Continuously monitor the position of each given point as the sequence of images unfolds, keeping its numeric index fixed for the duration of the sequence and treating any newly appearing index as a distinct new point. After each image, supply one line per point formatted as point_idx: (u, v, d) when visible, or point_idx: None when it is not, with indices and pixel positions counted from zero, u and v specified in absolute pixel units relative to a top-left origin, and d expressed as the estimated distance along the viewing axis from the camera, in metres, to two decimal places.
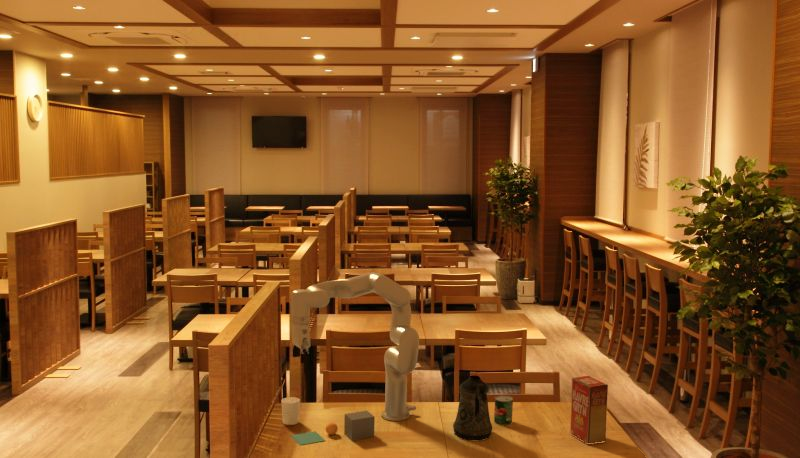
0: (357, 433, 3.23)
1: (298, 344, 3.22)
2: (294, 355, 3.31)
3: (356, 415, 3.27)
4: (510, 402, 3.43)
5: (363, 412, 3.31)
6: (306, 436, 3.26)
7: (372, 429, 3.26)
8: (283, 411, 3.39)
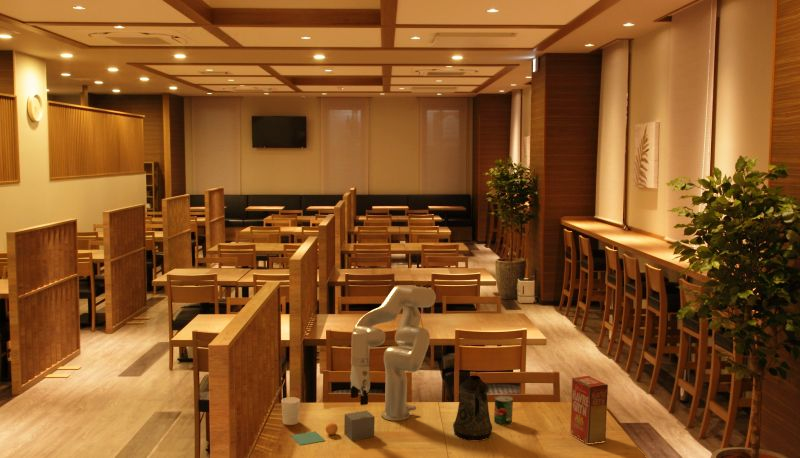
0: (357, 433, 3.23)
1: (358, 386, 3.21)
2: (352, 396, 3.29)
3: (356, 415, 3.27)
4: (510, 402, 3.43)
5: (363, 412, 3.31)
6: (306, 436, 3.26)
7: (372, 429, 3.26)
8: (283, 411, 3.39)
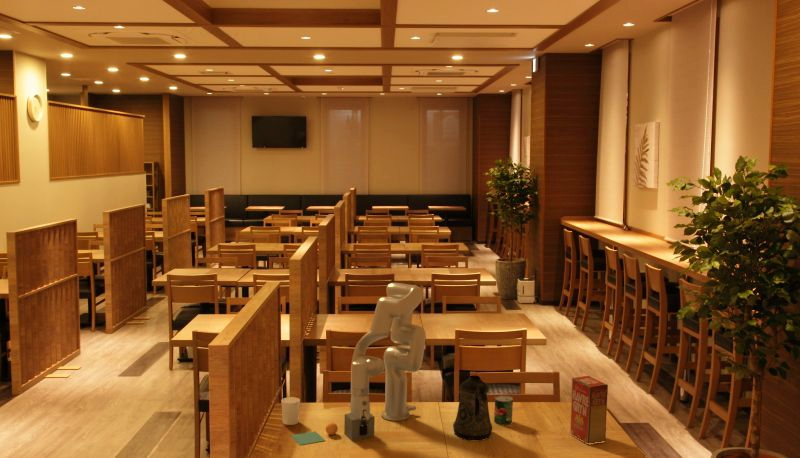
0: (357, 433, 3.23)
1: (358, 415, 3.23)
2: None
3: None
4: (510, 402, 3.43)
5: None
6: (306, 436, 3.26)
7: (372, 429, 3.26)
8: (283, 411, 3.39)
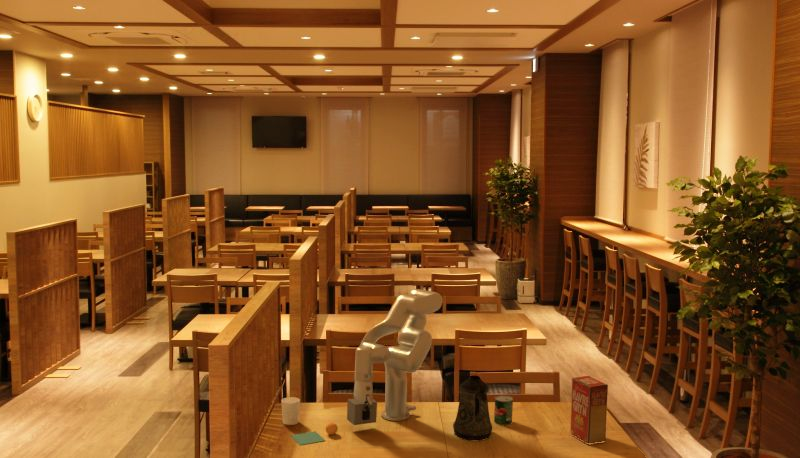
0: (359, 418, 3.29)
1: (361, 400, 3.29)
2: None
3: None
4: (510, 402, 3.43)
5: None
6: (306, 436, 3.26)
7: (374, 414, 3.33)
8: (283, 411, 3.39)
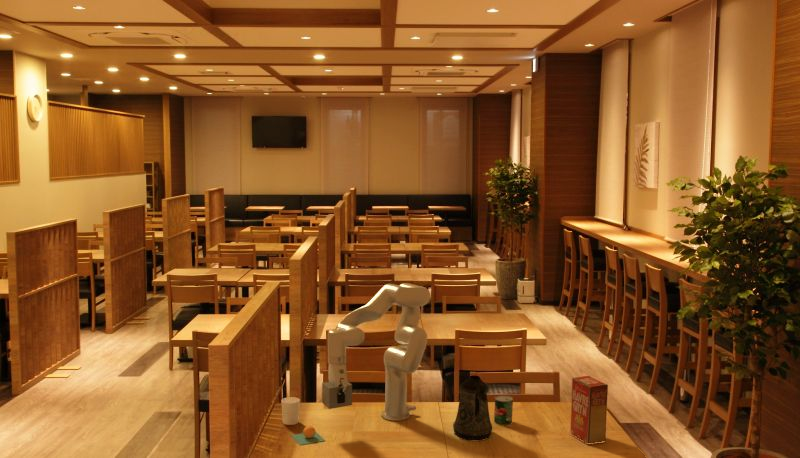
0: (334, 402, 3.24)
1: (335, 384, 3.23)
2: None
3: None
4: (510, 402, 3.43)
5: None
6: None
7: (350, 397, 3.27)
8: (283, 411, 3.39)
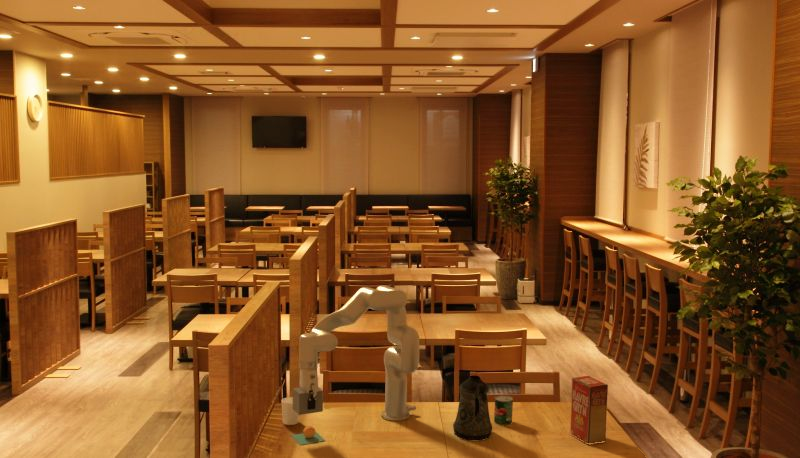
0: (304, 407, 3.18)
1: (306, 389, 3.18)
2: None
3: None
4: (510, 402, 3.43)
5: None
6: None
7: (320, 403, 3.21)
8: (283, 411, 3.39)
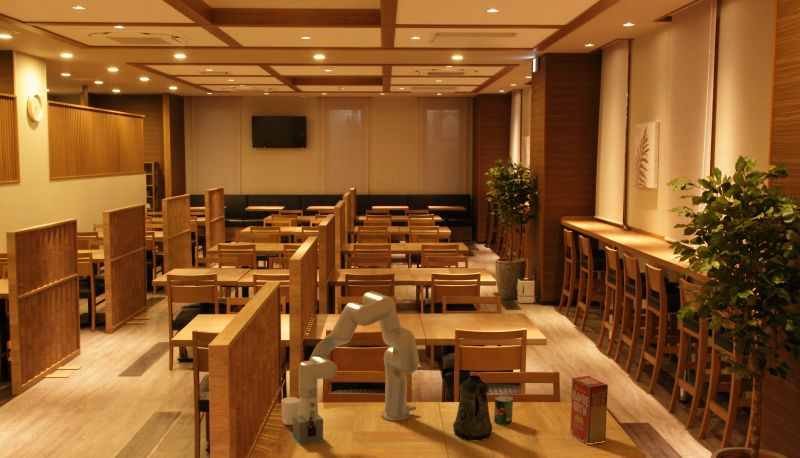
0: (305, 436, 3.19)
1: (306, 417, 3.19)
2: None
3: None
4: (510, 402, 3.43)
5: None
6: None
7: (321, 432, 3.22)
8: (283, 411, 3.39)
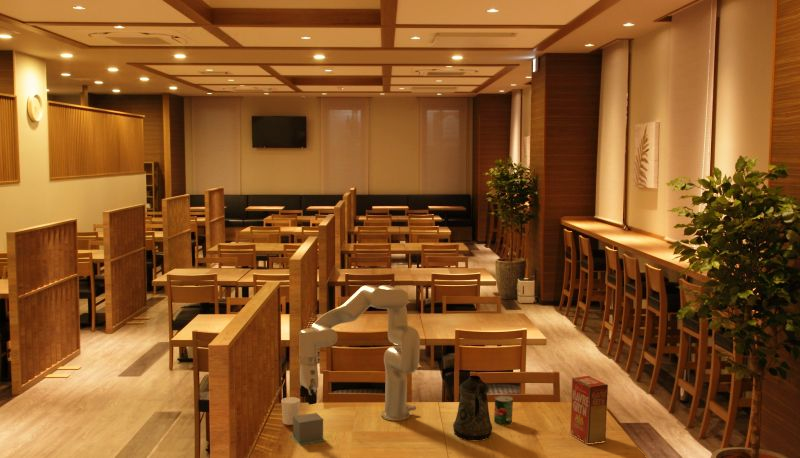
0: (305, 436, 3.19)
1: (306, 385, 3.17)
2: (301, 395, 3.26)
3: (304, 418, 3.23)
4: (510, 402, 3.43)
5: (312, 414, 3.27)
6: None
7: (321, 432, 3.22)
8: (283, 411, 3.39)
